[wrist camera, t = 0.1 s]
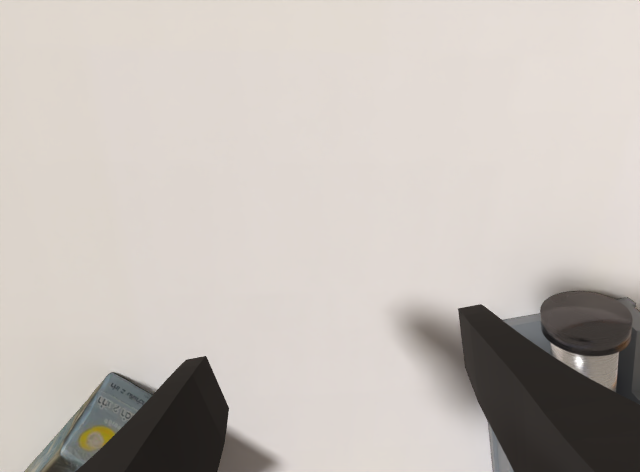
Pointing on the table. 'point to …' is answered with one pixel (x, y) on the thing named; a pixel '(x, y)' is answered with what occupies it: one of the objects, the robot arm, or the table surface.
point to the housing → (633, 362)
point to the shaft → (587, 333)
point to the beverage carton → (91, 426)
